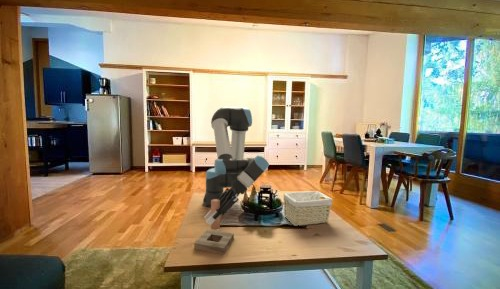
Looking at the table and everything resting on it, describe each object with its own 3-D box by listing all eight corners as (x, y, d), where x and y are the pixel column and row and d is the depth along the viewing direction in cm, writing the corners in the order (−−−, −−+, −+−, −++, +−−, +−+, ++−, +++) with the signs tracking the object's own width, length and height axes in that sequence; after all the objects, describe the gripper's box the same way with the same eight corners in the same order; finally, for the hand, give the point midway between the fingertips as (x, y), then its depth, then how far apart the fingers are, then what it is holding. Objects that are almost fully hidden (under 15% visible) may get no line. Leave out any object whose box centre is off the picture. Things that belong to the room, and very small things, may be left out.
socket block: (207, 235, 130) (207, 229, 130) (233, 239, 127) (233, 233, 127) (194, 249, 117) (194, 243, 116) (223, 254, 114) (223, 248, 113)
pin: (212, 225, 123) (213, 198, 121) (220, 226, 122) (221, 199, 120) (209, 229, 119) (209, 201, 117) (217, 230, 118) (218, 202, 116)
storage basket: (316, 212, 163) (318, 189, 161) (332, 223, 148) (333, 198, 146) (281, 216, 156) (282, 192, 154) (293, 228, 141) (295, 202, 139)
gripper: (254, 193, 116) (217, 234, 112) (241, 183, 131) (208, 218, 128) (243, 182, 113) (204, 224, 109) (231, 173, 129) (197, 209, 125)
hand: (207, 221), depth 119 cm, fingers closed on pin, 4 cm apart
